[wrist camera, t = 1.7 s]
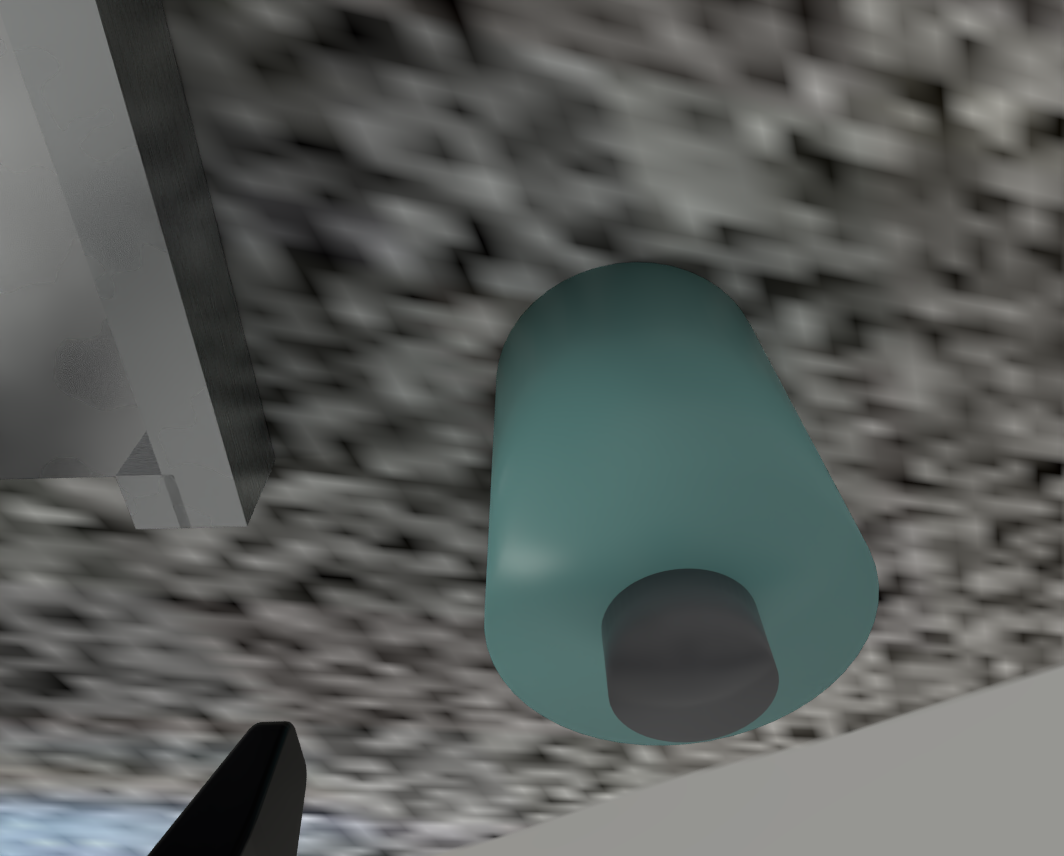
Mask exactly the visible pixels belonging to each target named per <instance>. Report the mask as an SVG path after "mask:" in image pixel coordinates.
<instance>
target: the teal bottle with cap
mask: <svg viewBox="0 0 1064 856" xmlns="http://www.w3.org/2000/svg"><path fill="white" fill-rule="evenodd" d="M878 597H879V583H878V577H877V571H876V566H875V563H874V561H873V558H872V556H871V553H870V550H869V548H868V546H867V544H866V542H865V541H864V539H863V537H862V535H861V533H860V531H859V529H858V527H857V525H856V524H855V522H854V520H853V518H852V516H851V514H850V512H849V510H848V508H847V507H846V505H845V503H844V501H843V499H842V497H841V495H840V493H839V491H838V490H837V488H836V486H835V484H834V482H833V480H832V478H831V476H830V474H829V473H828V471H827V469H826V467H825V465H824V463H823V461H822V459H821V458H820V456H819V454H818V452H817V450H816V448H815V446H814V444H813V442H812V441H811V439H810V437H809V435H808V433H807V431H806V429H805V427H804V425H803V424H802V422H801V420H800V418H799V416H798V414H797V412H796V410H795V408H794V407H793V405H792V403H791V401H790V399H789V397H788V395H787V393H786V391H785V390H784V388H783V386H782V384H781V382H780V380H779V378H778V376H777V375H776V373H775V371H774V369H773V367H772V365H771V363H770V361H769V359H768V358H767V356H766V354H765V352H764V350H763V348H762V346H761V344H760V342H759V341H758V339H757V337H756V335H755V333H754V331H753V329H752V327H751V325H750V324H749V322H748V320H747V319H746V317H745V315H744V314H743V312H742V311H741V309H740V308H739V307H738V306H737V305H736V304H735V302H734V301H733V300H732V299H731V298H730V297H729V296H728V295H727V294H725V293H724V292H723V291H722V290H721V289H720V288H719V287H717V286H715V285H714V284H712V283H711V282H709V281H708V280H706V279H705V278H702V277H700V276H698V275H696V274H694V273H692V272H689V271H686V270H683V269H680V268H677V267H673V266H669V265H663V264H657V263H644V262H630V263H618V264H612V265H607V266H602V267H597V268H594V269H591V270H588V271H585V272H582V273H580V274H577V275H575V276H573V277H571V278H569V279H567V280H565V281H563V282H561V283H559V284H558V285H556V286H555V287H553V288H552V289H550V290H549V291H547V292H546V293H545V294H543V295H542V296H541V297H540V298H539V299H537V300H536V301H535V302H534V303H533V304H532V305H531V306H530V307H529V308H528V309H527V310H526V311H525V312H524V314H523V315H522V316H521V317H520V319H519V320H518V321H517V323H516V324H515V326H514V327H513V329H512V330H511V332H510V334H509V336H508V338H507V340H506V342H505V344H504V347H503V350H502V353H501V356H500V359H499V364H498V369H497V376H496V396H495V416H494V436H493V456H492V476H491V496H490V516H489V536H488V556H487V576H486V596H485V623H484V631H485V637H486V643H487V648H488V651H489V653H490V656H491V659H492V662H493V664H494V666H495V668H496V669H497V671H498V673H499V674H500V676H501V678H502V679H503V681H504V682H505V683H506V684H507V685H508V687H509V688H510V689H511V690H512V692H513V693H514V694H515V695H516V696H518V697H519V698H520V699H521V700H522V701H523V702H524V703H525V704H526V705H528V706H529V707H530V708H532V709H533V710H535V711H536V712H538V713H539V714H541V715H542V716H544V717H546V718H547V719H549V720H551V721H553V722H555V723H557V724H559V725H561V726H563V727H566V728H568V729H571V730H573V731H576V732H578V733H581V734H585V735H588V736H592V737H595V738H599V739H604V740H609V741H614V742H619V743H628V744H638V745H680V744H691V743H698V742H705V741H712V740H716V739H721V738H725V737H730V736H734V735H737V734H740V733H743V732H747V731H750V730H753V729H756V728H758V727H761V726H763V725H766V724H768V723H771V722H773V721H775V720H777V719H779V718H781V717H783V716H785V715H787V714H789V713H791V712H793V711H795V710H797V709H798V708H800V707H801V706H803V705H805V704H806V703H808V702H809V701H811V700H813V699H814V698H815V697H817V696H818V695H819V694H820V693H822V692H823V691H824V690H825V689H827V688H828V687H829V686H830V685H831V684H833V683H834V682H835V681H836V680H837V679H838V678H839V677H840V676H841V675H842V674H843V673H844V672H845V671H846V669H847V668H848V667H849V666H850V664H851V663H852V662H853V661H854V659H855V658H856V657H857V656H858V654H859V652H860V650H861V649H862V647H863V645H864V644H865V642H866V640H867V639H868V636H869V634H870V631H871V629H872V626H873V624H874V621H875V616H876V612H877V607H878Z"/></svg>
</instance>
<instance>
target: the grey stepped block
mask: <svg viewBox="0 0 1064 856" xmlns="http://www.w3.org/2000/svg"><path fill="white" fill-rule="evenodd" d="M274 462H275V458H274V454H273V450H272V446H271V442H270V438H269V434H268V430H267V425H266V421H265V417H264V413H263V409H262V405H261V401H260V397H259V393H258V389H257V385H256V381H255V377H254V373H253V369H252V365H251V361H250V357H249V353H248V349H247V345H246V341H245V337H244V333H243V329H242V325H241V321H240V317H239V313H238V309H237V305H236V301H235V297H234V293H233V288H232V284H231V280H230V276H229V272H228V268H227V264H226V260H225V256H224V252H223V248H222V244H221V240H220V236H219V232H218V228H217V224H216V220H215V216H214V212H213V208H212V204H211V200H210V196H209V192H208V188H207V184H206V180H205V176H204V172H203V168H202V164H201V160H200V155H199V151H198V147H197V143H196V139H195V135H194V131H193V127H192V123H191V119H190V115H189V111H188V107H187V103H186V99H185V95H184V91H183V87H182V83H181V79H180V75H179V71H178V67H177V63H176V59H175V55H174V51H173V47H172V43H171V39H170V35H169V31H168V27H167V22H166V18H165V14H164V10H163V6H162V2H161V0H0V479H36V478H76V477H116V479H117V482H118V484H119V487H120V489H121V492H122V495H123V497H124V500H125V502H126V505H127V507H128V510H129V512H130V515H131V518H132V520H133V523H134V525H135V528H136V529H164V528H204V527H244V526H248V523H249V521H250V519H251V516H252V514H253V512H254V509H255V507H256V504H257V502H258V500H259V497H260V495H261V493H262V490H263V488H264V486H265V483H266V481H267V479H268V476H269V474H270V472H271V469H272V467H273V465H274Z"/></svg>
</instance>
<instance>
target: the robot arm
mask: <svg viewBox="0 0 1064 856" xmlns="http://www.w3.org/2000/svg"><path fill="white" fill-rule="evenodd" d="M306 778H307V772H306V764H305V760H304V757H303V753H302V750H301V747H300V743H299V740H298V737H297V733H296V730H295V728H294V726H293V724H291V723H290V722H287V721H282V722H260V723H257V724H255V725H253V726H252V727H251V728H250V729H249V730H248V731H247V733H246V734H245V735H244V736H243V738H242V739H241V740H240V741H239V742H238V744H237V745H236V746H235V747H234V749H233V750H232V751H231V752H230V754H229V755H228V756H227V757H226V759H225V760H224V761H223V762H222V764H221V765H220V766H219V767H218V769H217V770H216V771H215V772H214V774H213V775H212V776H211V777H210V779H209V780H208V781H207V782H206V784H205V785H204V786H203V787H202V788H201V790H200V791H199V792H198V793H197V795H196V796H195V797H194V798H193V800H192V801H191V802H190V803H189V805H188V806H187V807H186V808H185V810H184V811H183V812H182V813H181V815H180V816H179V817H178V818H177V820H176V821H175V822H174V823H173V825H172V826H171V827H170V828H169V830H168V831H167V832H166V833H165V834H164V836H163V837H162V838H161V839H160V841H159V842H158V843H157V844H156V846H155V847H154V848H153V849H152V851H151V852H150V853H149V854H148V856H297V848H298V841H299V834H300V826H301V819H302V812H303V804H304V797H305V790H306Z"/></svg>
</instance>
